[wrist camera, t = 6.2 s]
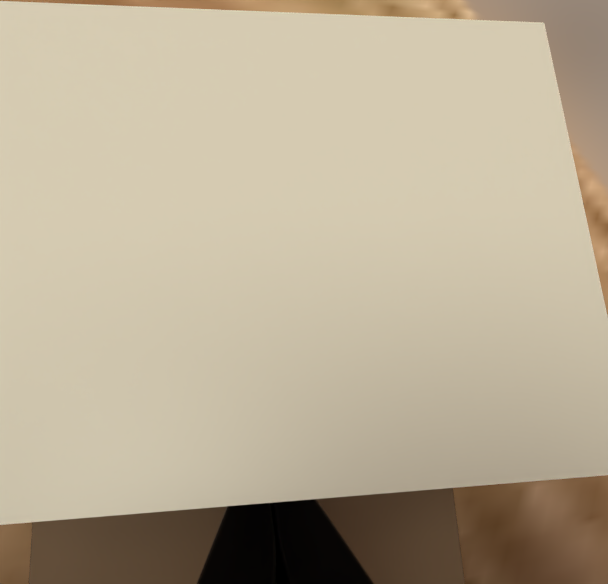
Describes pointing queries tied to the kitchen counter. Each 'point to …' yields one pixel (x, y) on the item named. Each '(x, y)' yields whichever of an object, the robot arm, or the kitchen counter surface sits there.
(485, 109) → the slider knob
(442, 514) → the panel
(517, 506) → the kitchen counter surface
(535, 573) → the kitchen counter surface
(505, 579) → the kitchen counter surface
